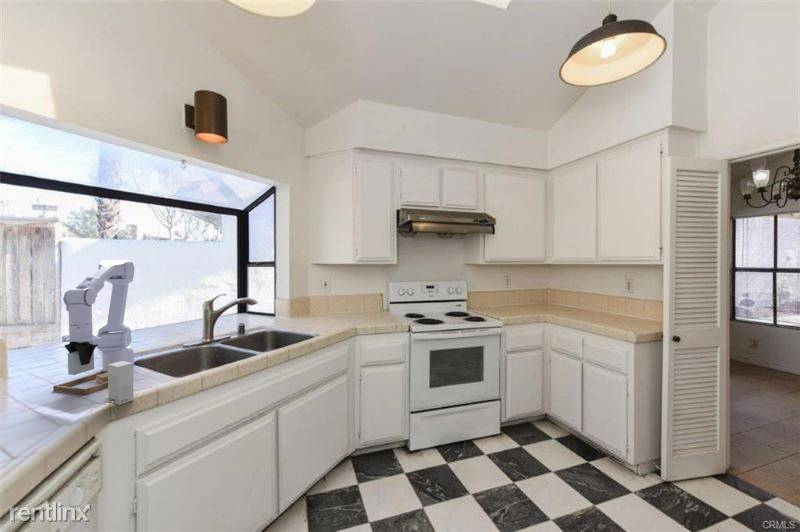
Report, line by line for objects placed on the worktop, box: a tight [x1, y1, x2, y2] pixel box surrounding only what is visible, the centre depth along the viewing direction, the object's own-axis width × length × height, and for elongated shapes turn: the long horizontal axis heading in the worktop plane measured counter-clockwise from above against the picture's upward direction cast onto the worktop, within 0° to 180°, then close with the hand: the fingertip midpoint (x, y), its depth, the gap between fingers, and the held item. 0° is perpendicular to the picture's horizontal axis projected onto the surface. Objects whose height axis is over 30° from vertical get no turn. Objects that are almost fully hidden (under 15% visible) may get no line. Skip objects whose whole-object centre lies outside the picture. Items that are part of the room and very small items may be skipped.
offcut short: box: [95, 373, 108, 384], centre depth 121 cm, size 3×5×2 cm, turn 61°
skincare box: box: [107, 361, 135, 406], centre depth 108 cm, size 6×4×12 cm
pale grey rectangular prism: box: [67, 350, 95, 376], centre depth 114 cm, size 6×2×7 cm, turn 167°
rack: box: [52, 370, 108, 396], centre depth 118 cm, size 15×14×3 cm
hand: (81, 364), depth 115 cm, fingers closed on pale grey rectangular prism, 2 cm apart
